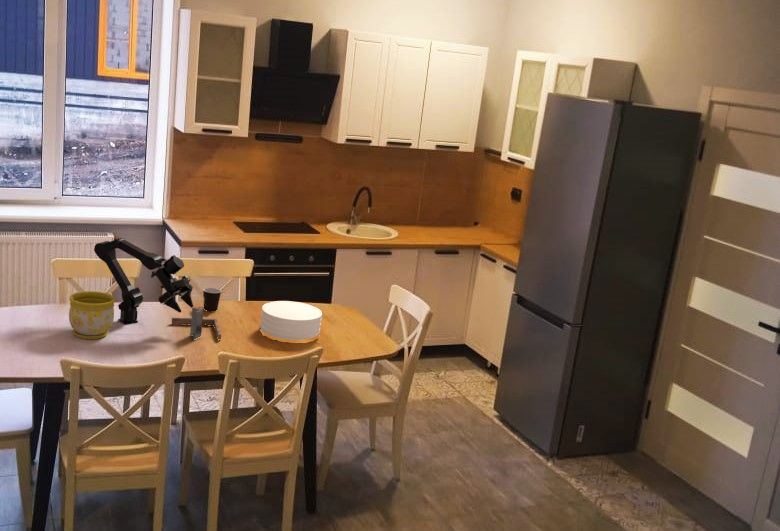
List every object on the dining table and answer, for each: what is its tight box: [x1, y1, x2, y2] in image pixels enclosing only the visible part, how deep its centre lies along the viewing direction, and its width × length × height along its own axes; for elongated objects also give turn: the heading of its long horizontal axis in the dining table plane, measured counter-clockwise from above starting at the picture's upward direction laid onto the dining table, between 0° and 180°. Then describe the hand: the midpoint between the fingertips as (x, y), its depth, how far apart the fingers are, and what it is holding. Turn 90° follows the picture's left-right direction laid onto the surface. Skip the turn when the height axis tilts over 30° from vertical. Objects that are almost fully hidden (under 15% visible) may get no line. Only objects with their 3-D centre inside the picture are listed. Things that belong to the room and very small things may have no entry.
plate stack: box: [259, 300, 323, 340], centre depth 372 cm, size 28×28×12 cm
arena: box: [171, 317, 222, 340], centre depth 356 cm, size 21×20×3 cm
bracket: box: [189, 306, 204, 340], centre depth 348 cm, size 5×5×13 cm
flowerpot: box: [68, 290, 116, 340], centre depth 334 cm, size 18×18×16 cm
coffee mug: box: [202, 287, 222, 312], centre depth 390 cm, size 12×9×10 cm
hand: (186, 309), depth 348 cm, fingers open, 9 cm apart
